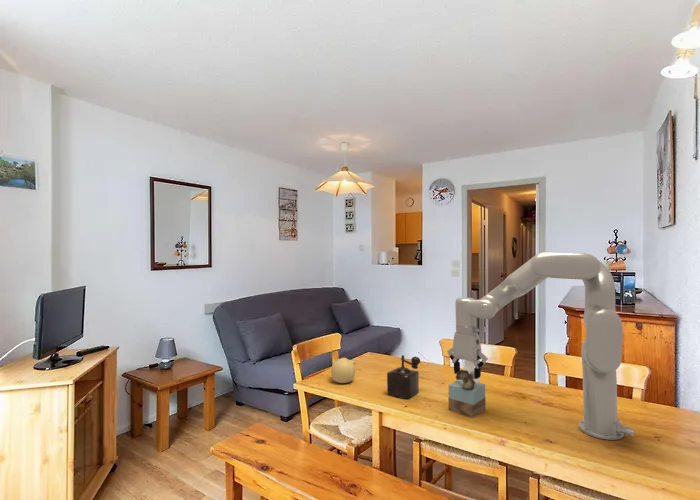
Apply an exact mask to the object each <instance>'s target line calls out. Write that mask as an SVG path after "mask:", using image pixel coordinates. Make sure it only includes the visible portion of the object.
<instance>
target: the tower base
mask: <svg viewBox="0 0 700 500" xmlns="http://www.w3.org/2000/svg"><path fill="white" fill-rule="evenodd" d="M486 402H487V401H486V397H485V398H483V399H482V400H480V401H479V402H477V403H476V404H474V405H472V404H468V403H465V402H461V401H457V400H454V399H450V398H449V397H448V411H451V412H454V413H458V414H460V415H463V416H466V417H469V418H471V419H472V418H474V417H477V416H478V415H479V414H481V413H483V412H484V411H486V410H487V409H486V404H487V403H486Z"/></svg>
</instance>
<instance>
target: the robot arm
mask: <svg viewBox="0 0 700 500" xmlns="http://www.w3.org/2000/svg"><path fill="white" fill-rule="evenodd" d="M547 278H551V279H563V280H581V281H582V283H583V284H584V314H583V321H584V325H585V328H586V331H585V332H586V334H585V336H586V337H585V339H584V340H583V343H582V344H581V348H580V351H581V364H582V368H581V369H582V399H583V402H582V403H583V405H582V406H583V411H582V412H583V420H580V421H579V422H578V429H579V430H580V431H581V432H583V434H586V435H589V436H590V437H594V438H597V439H601V440H608V441H614V440H615V441H616V440H620V439H623V437H624V436H625V435H627V436H630V437H634V435H635V431H634V429H632V427H631V426H629V425H623V424H622V423H621V419H618V389H617V388H618V383H617V382H618V381H617V370H618V369H619V368H620V366H621V364H622V358H623V335H624V334H623V333H624V330H623V323H622V322H623V321H622V319H621V317H620V316H619V314H618V313H617V312H616V285H615V281H614V277H613V275H612V273H611V272H610V270H609V269H608V267H607V266H606V265H605V264H604V263H603V262H602V261H600V260H599V259H598V258H597V257H596V256H594V255H592V254H590V253H586V252H583V253H582V252H581V253H579V252H578V253H575V252H572V253H570V252H569V253H568V252H549V251H541V252H538V253H537V254H535V255H534V256H533V257H531V258H530V259H529V260H527V261H526V262H524V264H522V265H521V266H520V267H518V268H517V269H516V270H514V271H513V272H512V273H510V274H509V275H508V276H506V278H505V279H504V280H503V281H502V282H500V283H499V285H497V286H496V287H495V288H493V289H492V290H490V291H489V292H487V294H486V295H483V297H481V298H480V299H474V298H473V297H468V296H467V297H466V296H465V297H458V298H456V299H455V302H454V303H455V305H454V306H455V332H454V333H453V334H454V336H453V341H452V347H451V348H449V349H448V350H447V351H446V352H447V354H448V356H449V358H450V360H451V362H452V363H453V371H454V372H453V373H454V375H457V373H458V372H459V371H460V370H461V363H460V360H464V361H465V360H467V361H472V362H473V363H474V365H475V367H476V368H474V378H475V379H478V378H479V379H480V378H481V375H482V367H483V366H484V365H485V364H486V362H487V361H488V359H489V358H488V357H487V356H486V355H485V354H484V353H482V343H481V339H480V335H479V332H480V328H478V327H477V319H482V320H489V319H492V318H493V317H495V315H496V314H497V312H499V311H500V310H501V309H503V308H504V307H505V306H507V305H508V304H509V303H510V302H512V301H513V300H515V299H517V298H520V297H522V296H524V295H526V294H528V293H529V292H530V291H532V290H533V289H534V288H536V287H537V286H538V285H539V284H541V283H542V282H544V281H545V280H546V279H547Z"/></svg>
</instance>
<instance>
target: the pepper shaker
mask: <svg viewBox="0 0 700 500" xmlns="http://www.w3.org/2000/svg"><path fill="white" fill-rule="evenodd" d="M474 368H476V367H475V365H474V363H473V362H472V361H467V360H464V367H463V370H466V371H468V373H469V374H470V373H471V371H474ZM473 380H474V382H478V383H481V381H480V378H478V379H473Z"/></svg>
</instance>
